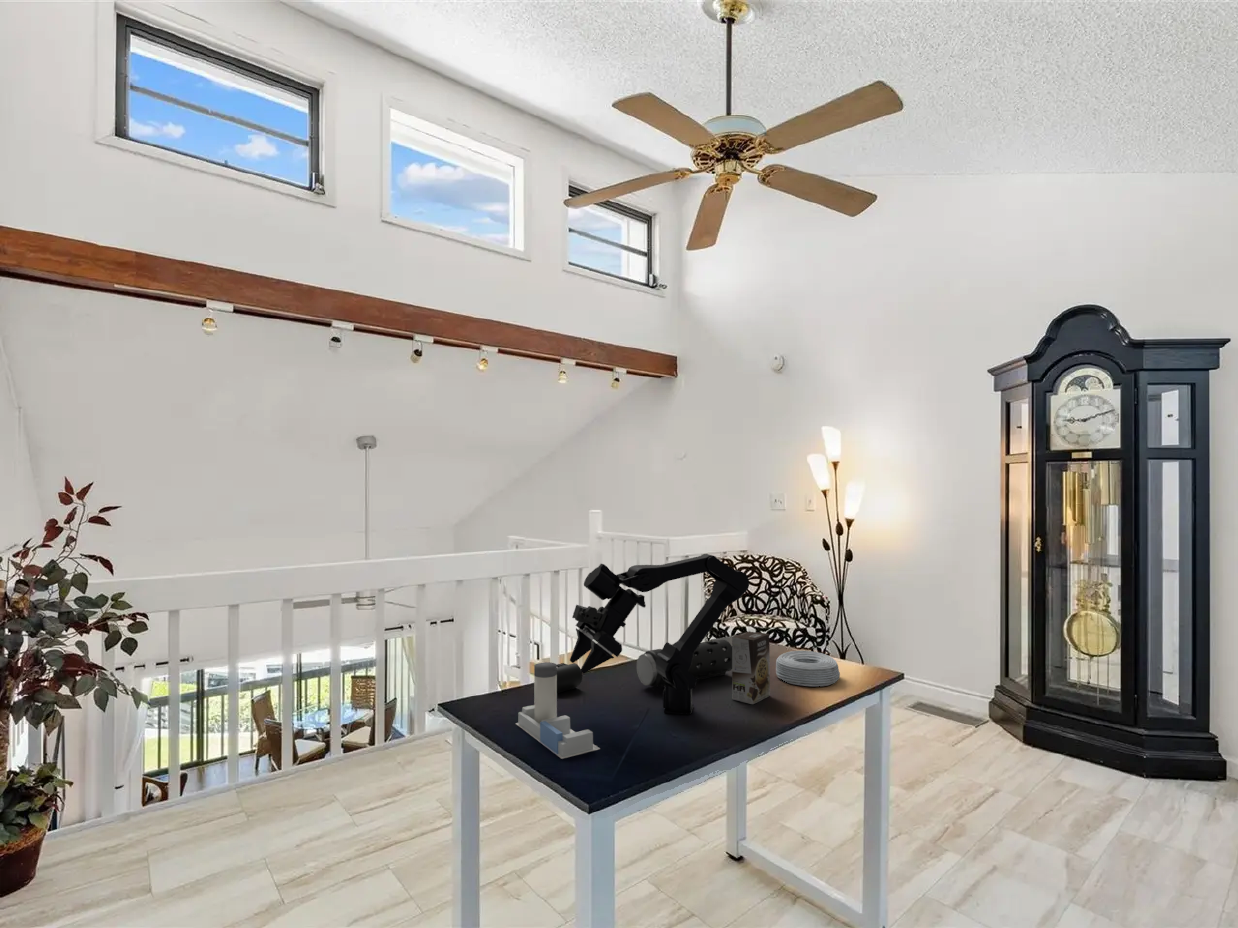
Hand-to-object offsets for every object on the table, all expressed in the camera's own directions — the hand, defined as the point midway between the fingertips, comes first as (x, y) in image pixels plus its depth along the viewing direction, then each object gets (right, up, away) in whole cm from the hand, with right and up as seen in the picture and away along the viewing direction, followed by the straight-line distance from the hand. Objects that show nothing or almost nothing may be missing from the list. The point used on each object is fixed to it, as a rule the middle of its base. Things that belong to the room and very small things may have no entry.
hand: (576, 666), depth 156 cm
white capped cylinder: (-7, -12, -5) cm, 15 cm away
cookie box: (+44, -13, +17) cm, 49 cm away
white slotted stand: (-4, -13, -10) cm, 16 cm away
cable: (+63, -14, +34) cm, 73 cm away
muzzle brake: (+29, -14, +31) cm, 44 cm away
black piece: (-6, -14, +23) cm, 28 cm away
